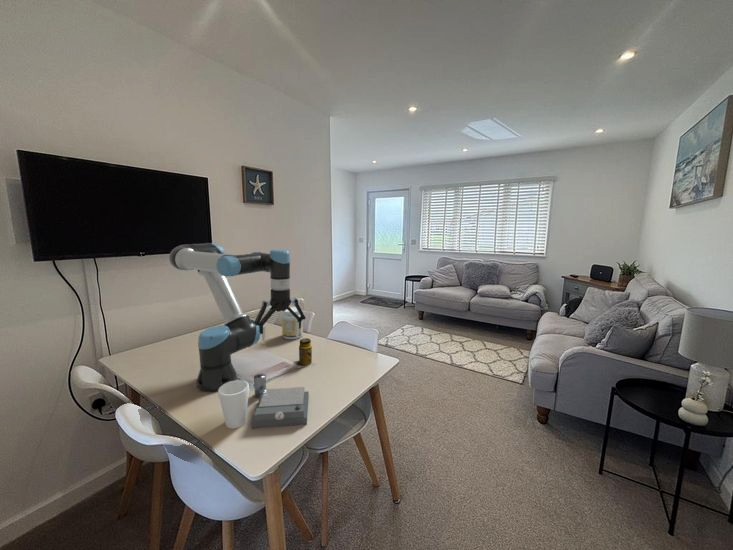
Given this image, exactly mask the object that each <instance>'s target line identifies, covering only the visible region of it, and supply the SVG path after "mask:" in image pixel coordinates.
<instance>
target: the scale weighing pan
mask: <svg viewBox="0 0 733 550" xmlns="http://www.w3.org/2000/svg"><path fill="white" fill-rule="evenodd" d="M305 389H306V387H305V386H301V387H299V386H298V387H283V388H282V387H281V388H270V389H269V388H268V389H267V388H266V389H265V390H264V393H263V396H262V399H261V402H260V405H259V408H265V407H278V406H292V405H303V401H304V392H305Z"/></svg>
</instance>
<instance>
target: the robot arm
mask: <svg viewBox="0 0 733 550" xmlns="http://www.w3.org/2000/svg"><path fill="white" fill-rule="evenodd" d="M168 259H169V262H170V264H171V266H172V267H173V268H175V269H176V270H181V271H192V270H196V271H197V273H198V275H199V276H202V277H204V279H205V281H206V285H208V288H209V290H210V293H211V294H212V296H213V298H214V301H215V303H216V305H217V307H218V309H219V312H220V313H221V316H222V318H223V320H224V323H223V324H222V325H220V324H219V325H216V326H210V327H208V328H206V329H205V330H202V331H201V332H200V334H199V335H198V339H197V340H198V341H197V342H198V343H197V346H198V352H199V364H200V369H199V372H198V376H197V378H196V388H197V389H198V390H199V391H203V392H207V393H208V392H218V390H219V388H220V387H221V386H222V385H223V384H225V383H228V382H230V381H235V380H238V379H237V372H236V369H235V368H234V365H233V363H232V354H234V353H237V352H240V351H242V350H245V349H247V348H251V347H252V346H254V345H256V344H258V342H259V340H260V339H261V340H262V341H263V343H266V325H265V324H266V323H267V322H268V321H269V319H270V318H271V316H273V314H275V312H283V311H285V310H286V309H287V310H288V311H289V312H290V313H291V314H292V315H293V316H294V317H295V318H296V319H297V320H295V335H296V336H297V337H299V328H301V322H302V320H303V321H304V320H306V316H305V314H304V312H303V309H301V306H300V305H299V300H298V298H296V297H294V298H292V299H291V288H290V287H291V275H290V273H291V256H290V252H289V250H287V249H271V250H270V252H269V253H267V252H266V253H265V252H261V251H257V252H256V251H254V252H251V253H246V254H228V253H227V254H226V251H225V250H224V248H223V247H222V246H221V245H219V244H217V243H213V242H212V243H211V242H205V243H192V244H191V243H188V244H186V243H185V244H180V245H178V246H176V247H174V248H173V249H172V250H171V251H170V252H169V258H168ZM260 272H264V273H269V274H270V301H266V300H263V301H262V304H261V307H260V310H259V311H258V313H257V315H256V318H255V319H253V318H250V316H249V314H246V313H244V311H243V309H242V307H241V305H240V302H239V301H238V297H236V295H235V292H234V289H233V288H232V286H231V283H230V282H229V279H228V277H236V276H240V275H241V276H242V275H246V274H254V273H260ZM291 304H293V305H294V307H296V308H297V310H298V312H299V314H300V316H301V317H299V316H298V315H297V314H296V313H295V312H294V311H293V310H292V309H291V308H290V305H291ZM269 305H270V308H269V310H268V311H267V308H268V307H269ZM266 311H267V312H266ZM265 312H266V314H265ZM264 314H265V315H264Z"/></svg>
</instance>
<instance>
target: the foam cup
mask: <svg viewBox="0 0 733 550" xmlns="http://www.w3.org/2000/svg"><path fill="white" fill-rule="evenodd" d="M217 392H218V398H219V402H220V406H221V410H222V411H221V412H222V414H223V415H222V416H223V419H224V423H225V426H226V428H228V429H237V428H241V427H242V426H244V424H246V421H247V415H248V405H249V404H248V402H249V393H250V384H249V382H248V381H246V380H243V379H236V380H235V381H230V382H228V383H225V384H223V385H222V386H221V387H220V388H219V390H218V391H217Z"/></svg>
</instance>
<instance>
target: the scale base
mask: <svg viewBox="0 0 733 550" xmlns="http://www.w3.org/2000/svg"><path fill="white" fill-rule="evenodd" d="M309 395H310V394H309V391H307V390H306V391H304V401H303V405H292V406H278V407H265V408H259V405H260V402H261V399H262V396H263V394H262V395H261V396H260V398H258V399H259V400H258V402H257V404H256V408H255V411H254V413H253V417H252V420H251V429H254V430H255V429H262V428H263V429H264V428H275V427H278V428H279V427H288V426H290V427H291V426H299V425H308V413H309V411H308V410H309V401H310V400H309V398H310V397H309Z"/></svg>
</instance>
